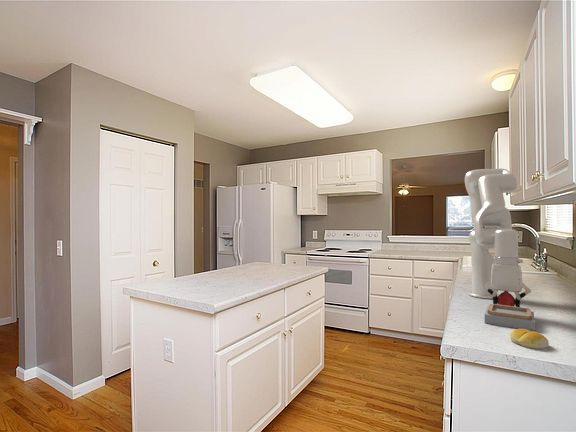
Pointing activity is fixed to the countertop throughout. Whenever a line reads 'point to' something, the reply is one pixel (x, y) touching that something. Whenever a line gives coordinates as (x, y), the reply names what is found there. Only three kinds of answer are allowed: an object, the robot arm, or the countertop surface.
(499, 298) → the pomegranate
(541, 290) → the countertop surface
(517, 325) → the stand
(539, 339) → the bread roll
